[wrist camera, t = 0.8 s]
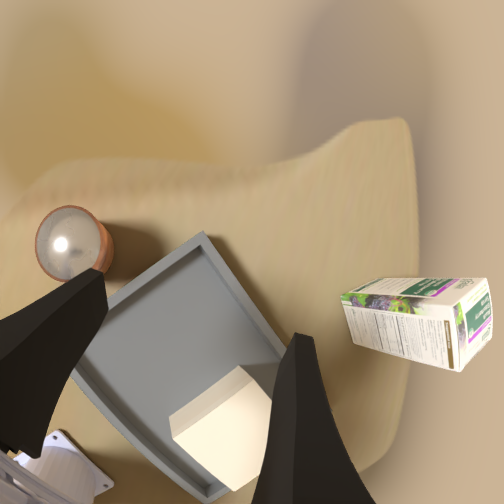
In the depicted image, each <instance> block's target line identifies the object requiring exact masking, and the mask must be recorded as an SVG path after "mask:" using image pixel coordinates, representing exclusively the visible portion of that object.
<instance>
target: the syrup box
mask: <svg viewBox="0 0 504 504" xmlns="http://www.w3.org/2000/svg"><path fill="white" fill-rule="evenodd" d="M341 301H342V305H343V308H344V312H345V315H346V319H347V322H348V326H349V329H350V333H351V336H352V340H353V343H354V344H357V345H360V346H363V347H367V348H370V349H373V350H377V351H380V352H384V353H387V354H391V355H394V356H398V357H402V358H406V359H409V360H413V361H417V362H420V363H425V364H428V365H432V366H436V367H440V368H444V369H448V370H452V371H456V372H461V371H462V370H463V369H464V367H465V365H466V364H467V363H468V362H469V361H470V360H471V359H473V357H475V355H476V354H478V353H479V351H480V350H481V349H482V348H483V347H484V346H485V344H486V343H487V342H488V341H489V340H490V339H491V338H492V325H493V323H492V321H493V315H492V303H491V296H490V291H489V286H488V282H487V278H377V279H375V280H373V281H370V282H368V283H366V284H364V285H362V286H360V287H358V288H356V289H354V290H352V291H349V292H347V293H345V294H343V295H341Z"/></svg>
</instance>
